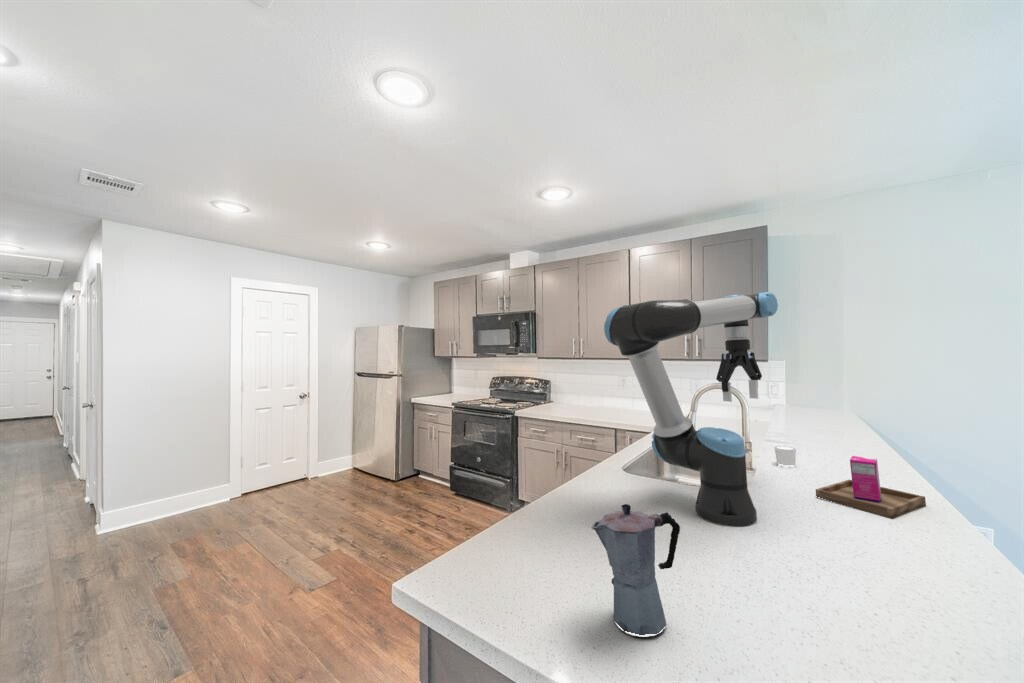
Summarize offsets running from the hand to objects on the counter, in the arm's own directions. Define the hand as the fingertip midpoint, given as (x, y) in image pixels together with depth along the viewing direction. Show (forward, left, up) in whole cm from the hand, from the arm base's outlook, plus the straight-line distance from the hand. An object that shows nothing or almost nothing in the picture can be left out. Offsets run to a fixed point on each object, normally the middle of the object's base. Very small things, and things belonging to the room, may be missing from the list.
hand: (741, 399), depth 136 cm
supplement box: (+13, -28, -28) cm, 42 cm away
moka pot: (-81, -38, -29) cm, 94 cm away
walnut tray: (+13, -28, -29) cm, 42 cm away
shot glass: (+30, +5, -29) cm, 42 cm away
